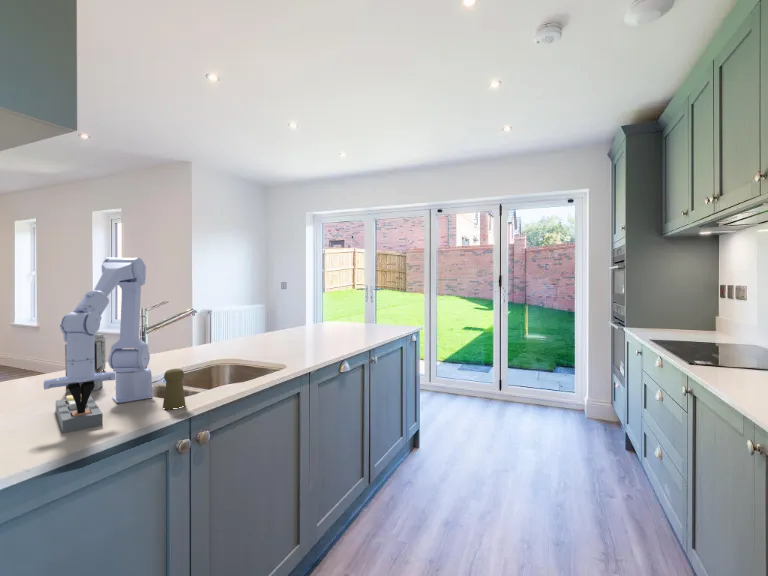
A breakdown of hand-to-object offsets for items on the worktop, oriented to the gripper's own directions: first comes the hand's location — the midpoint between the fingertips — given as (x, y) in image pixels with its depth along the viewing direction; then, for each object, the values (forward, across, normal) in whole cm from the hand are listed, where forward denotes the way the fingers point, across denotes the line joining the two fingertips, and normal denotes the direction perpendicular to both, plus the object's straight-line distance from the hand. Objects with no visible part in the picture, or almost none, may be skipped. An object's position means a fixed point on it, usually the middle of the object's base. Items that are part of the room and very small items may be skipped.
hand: (81, 412), depth 103 cm
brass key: (+2, 0, +14) cm, 14 cm away
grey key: (+2, 0, +7) cm, 7 cm away
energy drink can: (+3, +12, +72) cm, 73 cm away
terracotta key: (+3, 0, 0) cm, 3 cm away
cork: (+3, +22, 0) cm, 22 cm away
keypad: (+3, 0, +7) cm, 8 cm away
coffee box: (+3, +5, +42) cm, 42 cm away
